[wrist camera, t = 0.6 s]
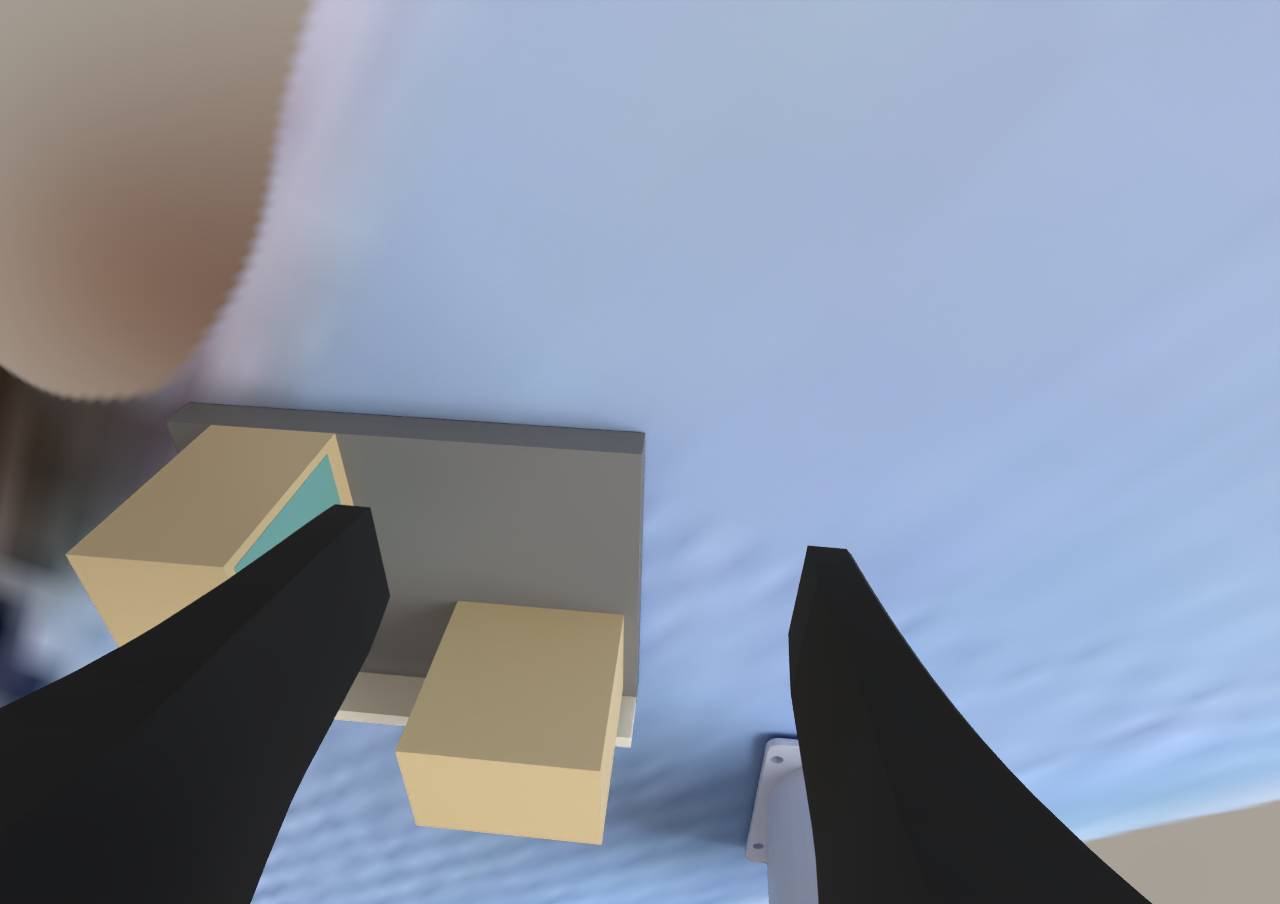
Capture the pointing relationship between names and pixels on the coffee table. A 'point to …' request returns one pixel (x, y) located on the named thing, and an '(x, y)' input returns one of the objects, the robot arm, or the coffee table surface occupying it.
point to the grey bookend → (476, 530)
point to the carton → (205, 521)
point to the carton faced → (517, 723)
